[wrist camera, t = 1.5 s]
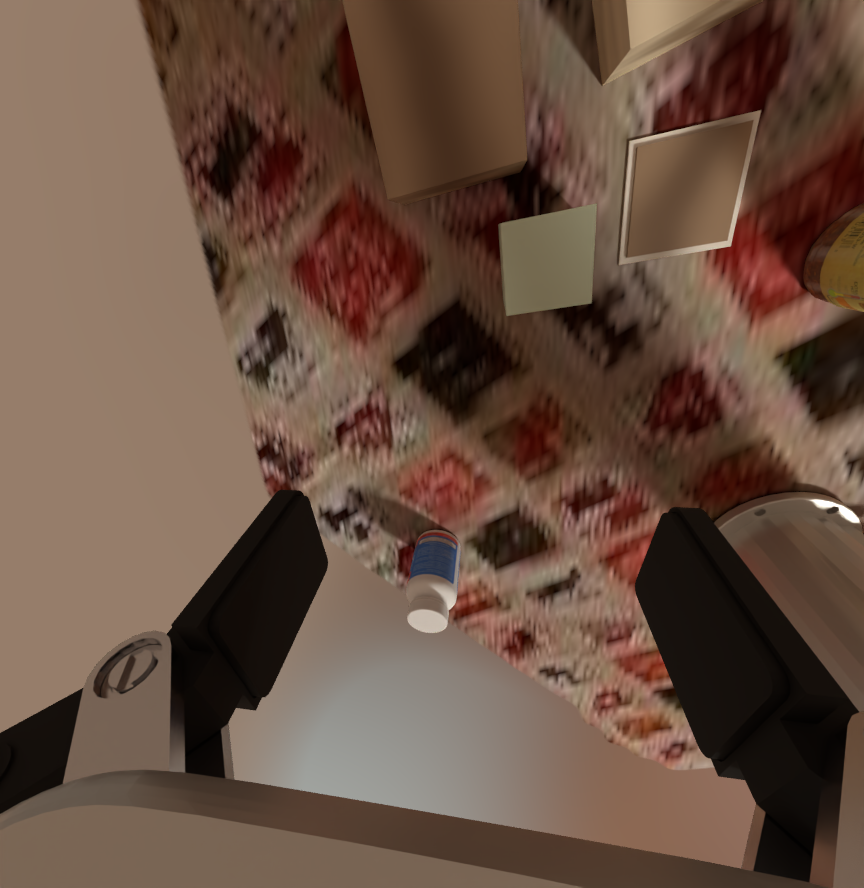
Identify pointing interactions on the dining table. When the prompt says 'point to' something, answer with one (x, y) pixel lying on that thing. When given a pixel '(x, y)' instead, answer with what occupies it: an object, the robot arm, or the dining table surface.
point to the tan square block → (440, 91)
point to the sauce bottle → (839, 262)
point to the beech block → (652, 28)
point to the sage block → (548, 260)
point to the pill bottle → (433, 580)
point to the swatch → (685, 188)
